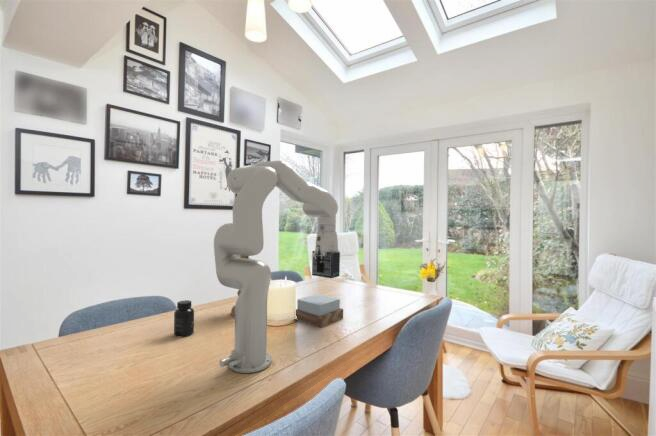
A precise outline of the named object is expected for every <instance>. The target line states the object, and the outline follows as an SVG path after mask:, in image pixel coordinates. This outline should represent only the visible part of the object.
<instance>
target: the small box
mask: <svg viewBox="0 0 656 436" xmlns="http://www.w3.org/2000/svg"><path fill="white" fill-rule="evenodd" d="M314 251H315V250H312V257H311V258H312V259H311V261H312V263H311V264H312V265H311V267H312V268H311V275H312V276H313V277H320V278H327V279H334V278H337V277H340V272H341V271H340V269H341V267H340V265H341V262H340V261H341V252H340V251H339V252H327V256H326V257H325V256H324V259H323V262H322V263H324V271H323V272H317V262H316V260H315V258H314V256H313V252H314ZM320 255H321V253H320ZM320 259H321V257H320Z"/></svg>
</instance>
